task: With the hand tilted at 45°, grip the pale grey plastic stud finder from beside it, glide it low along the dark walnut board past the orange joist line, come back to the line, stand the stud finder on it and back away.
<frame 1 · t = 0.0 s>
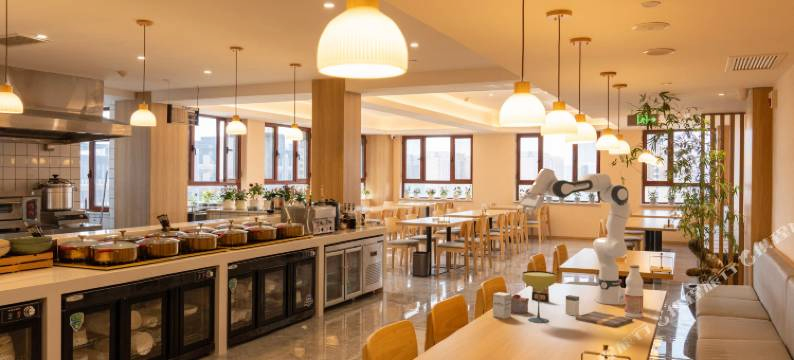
hand: (526, 213, 362), 54 cm above the table, tool tilted 30°, fingers open, 8 cm apart
supplement box: (501, 317, 337), on the table
ammunition clip: (540, 301, 380), on the table
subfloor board: (603, 320, 331), on the table
fruit juice: (633, 316, 342), on the table
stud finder: (572, 314, 345), on the table
food item: (516, 312, 349), on the table
cocktail glass: (538, 320, 329), on the table
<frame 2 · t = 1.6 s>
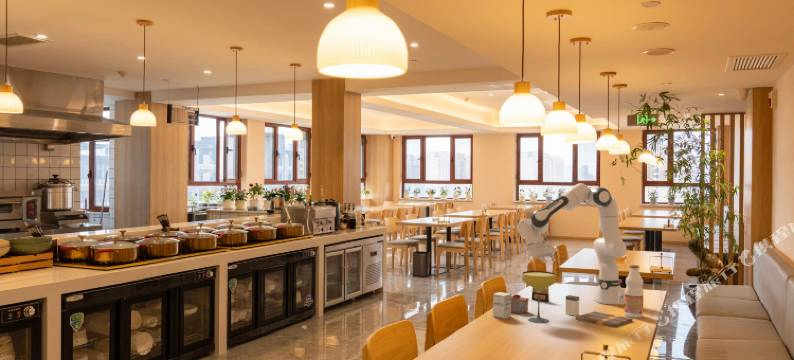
hand: (550, 261, 356), 27 cm above the table, tool tilted 45°, fingers open, 8 cm apart
nothing on the table moved.
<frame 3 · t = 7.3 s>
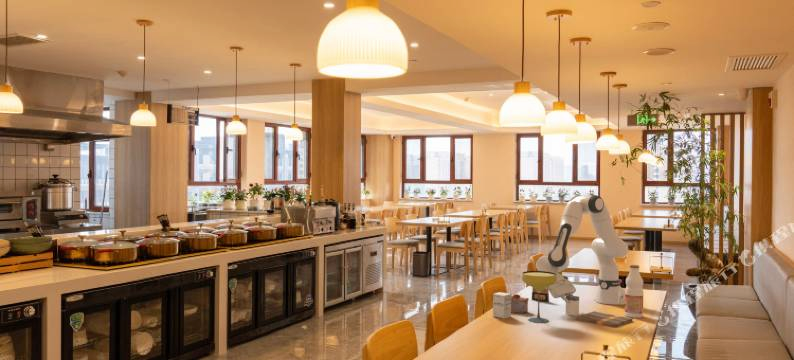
hand: (571, 301, 345), 7 cm above the table, tool tilted 45°, fingers closed on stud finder, 4 cm apart
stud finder: (572, 314, 345), on the table, touching gripper
everything else where it was.
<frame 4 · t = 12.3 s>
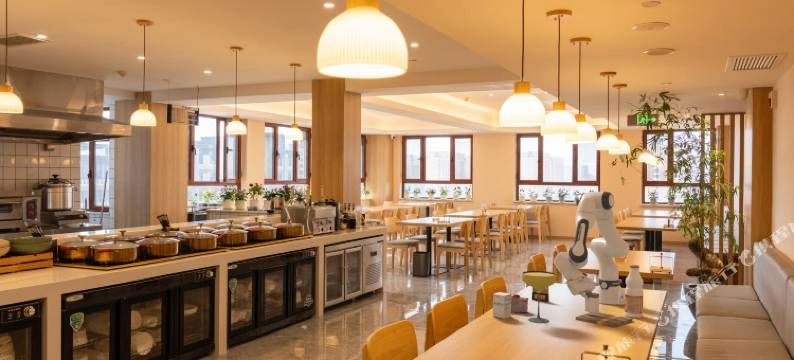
hand: (590, 298, 337), 10 cm above the table, tool tilted 45°, fingers closed on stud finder, 4 cm apart
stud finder: (591, 311, 336), point 3 cm above the table, touching gripper
everything else where it was.
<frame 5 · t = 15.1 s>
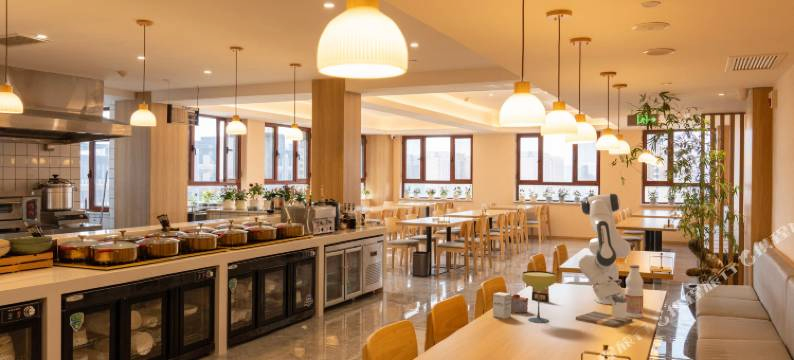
hand: (617, 303, 326), 10 cm above the table, tool tilted 45°, fingers closed on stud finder, 4 cm apart
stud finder: (619, 316, 325), point 3 cm above the table, touching gripper
everything else where it was.
when the fingers open (9 cm above the table, at t = 17.6 s): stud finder stays where it is, resting on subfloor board.
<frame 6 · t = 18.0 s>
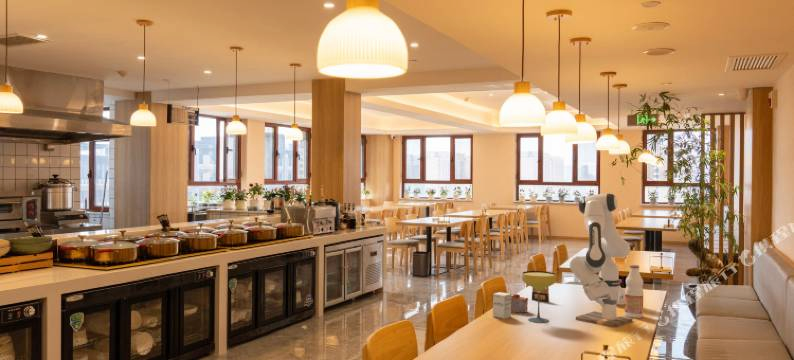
hand: (607, 304, 330), 9 cm above the table, tool tilted 45°, fingers open, 8 cm apart
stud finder: (609, 318, 329), point 1 cm above the table, touching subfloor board
everything else where it was.
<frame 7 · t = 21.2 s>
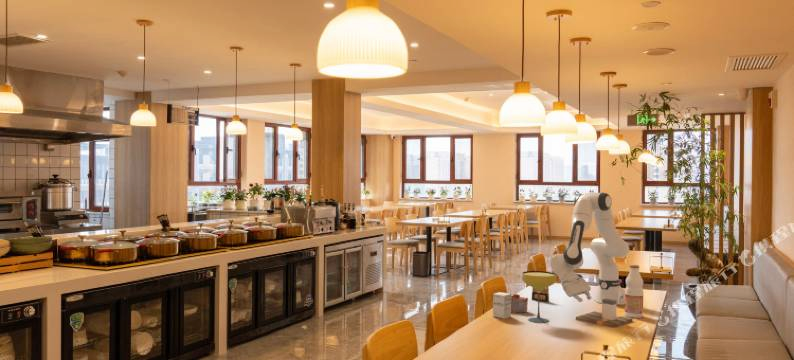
hand: (585, 300, 339), 9 cm above the table, tool tilted 45°, fingers open, 8 cm apart
nothing on the table moved.
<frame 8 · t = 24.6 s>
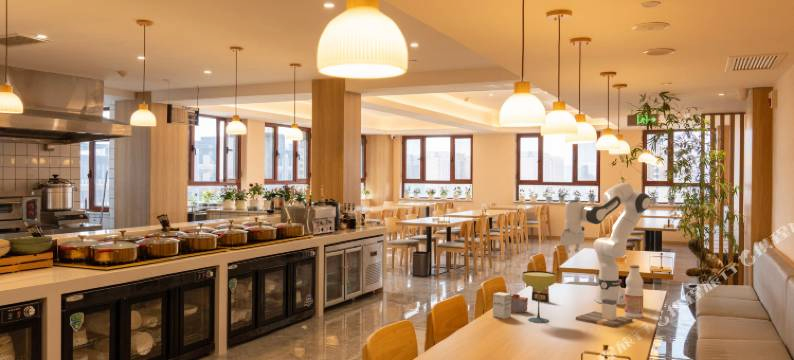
hand: (572, 252, 355), 33 cm above the table, tool pointing down, fingers open, 8 cm apart
at the end: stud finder inside the target area (0.1 cm from its centre), point 1.5 cm above the table; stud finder tilted 0°; the gripper is holding nothing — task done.
